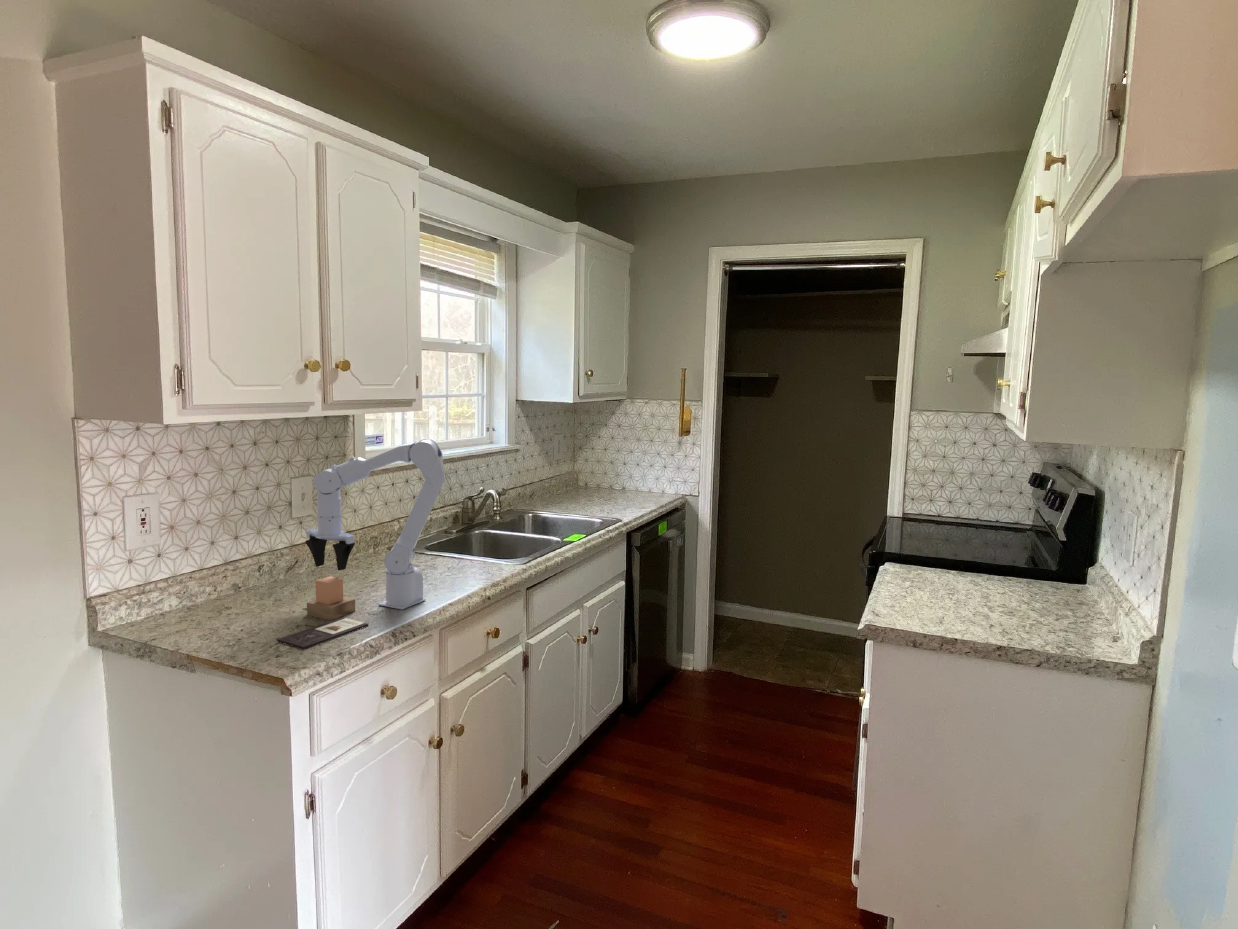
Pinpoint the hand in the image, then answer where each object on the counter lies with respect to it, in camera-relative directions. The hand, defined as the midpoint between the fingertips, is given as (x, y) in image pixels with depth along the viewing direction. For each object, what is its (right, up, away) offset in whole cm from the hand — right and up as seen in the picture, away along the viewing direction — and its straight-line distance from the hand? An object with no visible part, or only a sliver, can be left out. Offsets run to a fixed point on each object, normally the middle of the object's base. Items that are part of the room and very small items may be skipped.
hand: (330, 567), depth 190 cm
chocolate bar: (+6, -13, -19) cm, 24 cm away
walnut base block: (+2, -11, -5) cm, 12 cm away
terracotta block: (+2, -8, -6) cm, 10 cm away
